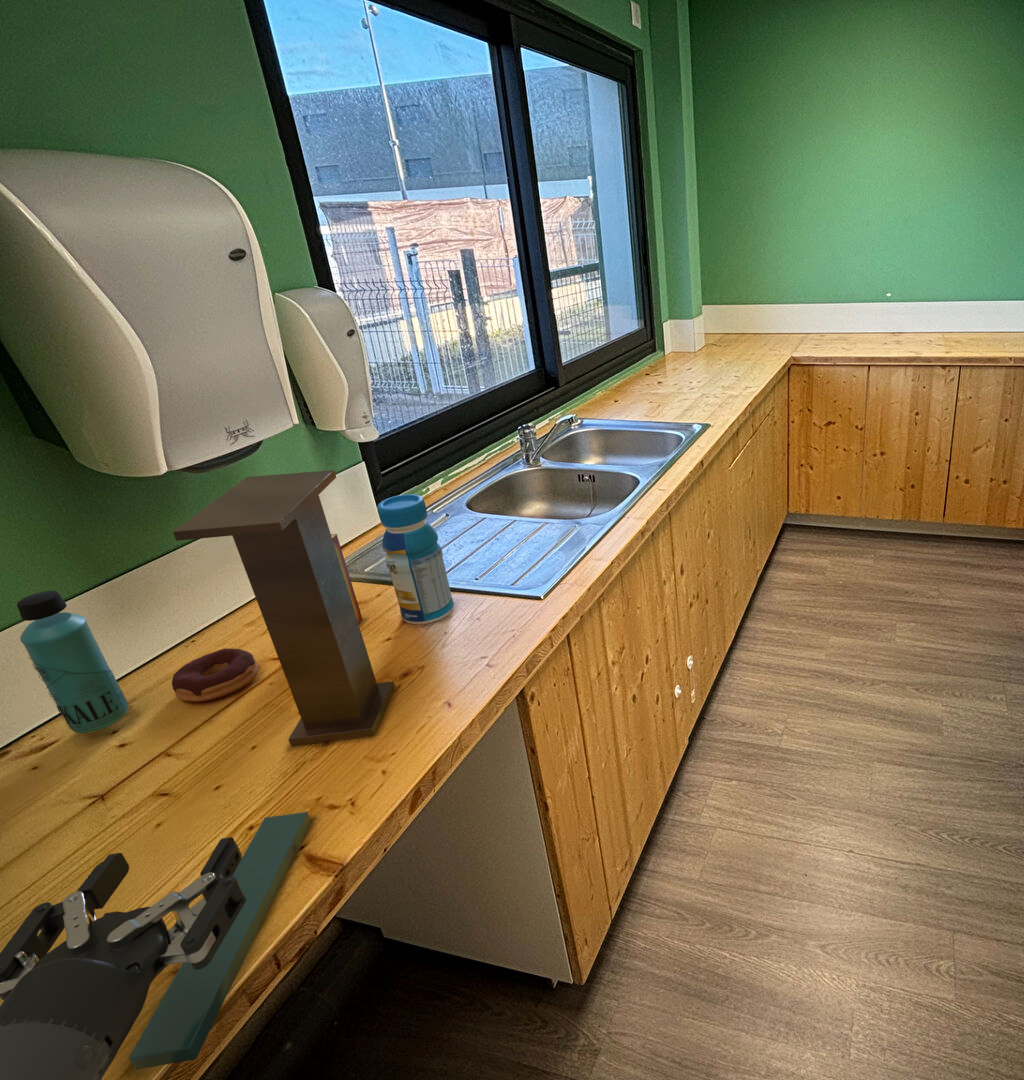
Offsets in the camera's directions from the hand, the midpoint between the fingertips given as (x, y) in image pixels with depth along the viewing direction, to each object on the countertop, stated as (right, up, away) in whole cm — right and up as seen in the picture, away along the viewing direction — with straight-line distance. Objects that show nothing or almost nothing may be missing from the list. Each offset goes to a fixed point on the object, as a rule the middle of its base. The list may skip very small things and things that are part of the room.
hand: (177, 852), depth 58 cm
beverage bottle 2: (-3, +14, +58) cm, 59 cm away
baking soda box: (-16, +10, +52) cm, 56 cm away
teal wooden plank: (0, -10, +7) cm, 12 cm away
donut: (-26, +5, +42) cm, 49 cm away
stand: (-4, +2, +33) cm, 33 cm away
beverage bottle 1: (-36, +1, +34) cm, 50 cm away
